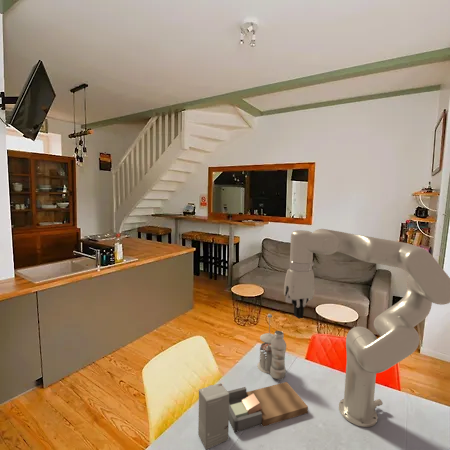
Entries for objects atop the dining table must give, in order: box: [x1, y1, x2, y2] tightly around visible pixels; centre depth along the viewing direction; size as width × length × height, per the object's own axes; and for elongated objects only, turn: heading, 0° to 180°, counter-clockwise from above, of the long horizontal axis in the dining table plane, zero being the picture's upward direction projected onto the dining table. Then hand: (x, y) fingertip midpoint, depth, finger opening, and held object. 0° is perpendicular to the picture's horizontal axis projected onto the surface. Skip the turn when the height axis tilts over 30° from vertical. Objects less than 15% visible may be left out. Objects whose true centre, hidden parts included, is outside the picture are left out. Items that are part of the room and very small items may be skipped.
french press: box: [257, 313, 275, 375], centre depth 125 cm, size 10×12×25 cm
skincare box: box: [197, 382, 230, 450], centre depth 90 cm, size 8×7×16 cm
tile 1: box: [230, 402, 248, 418], centre depth 99 cm, size 5×5×2 cm
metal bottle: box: [270, 330, 287, 381], centre depth 120 cm, size 6×7×20 cm
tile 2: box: [242, 393, 262, 415], centre depth 100 cm, size 5×5×2 cm
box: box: [227, 386, 262, 433], centre depth 101 cm, size 10×14×4 cm
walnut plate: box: [246, 381, 309, 427], centre depth 105 cm, size 18×14×2 cm
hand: (298, 316), depth 100 cm, fingers closed
